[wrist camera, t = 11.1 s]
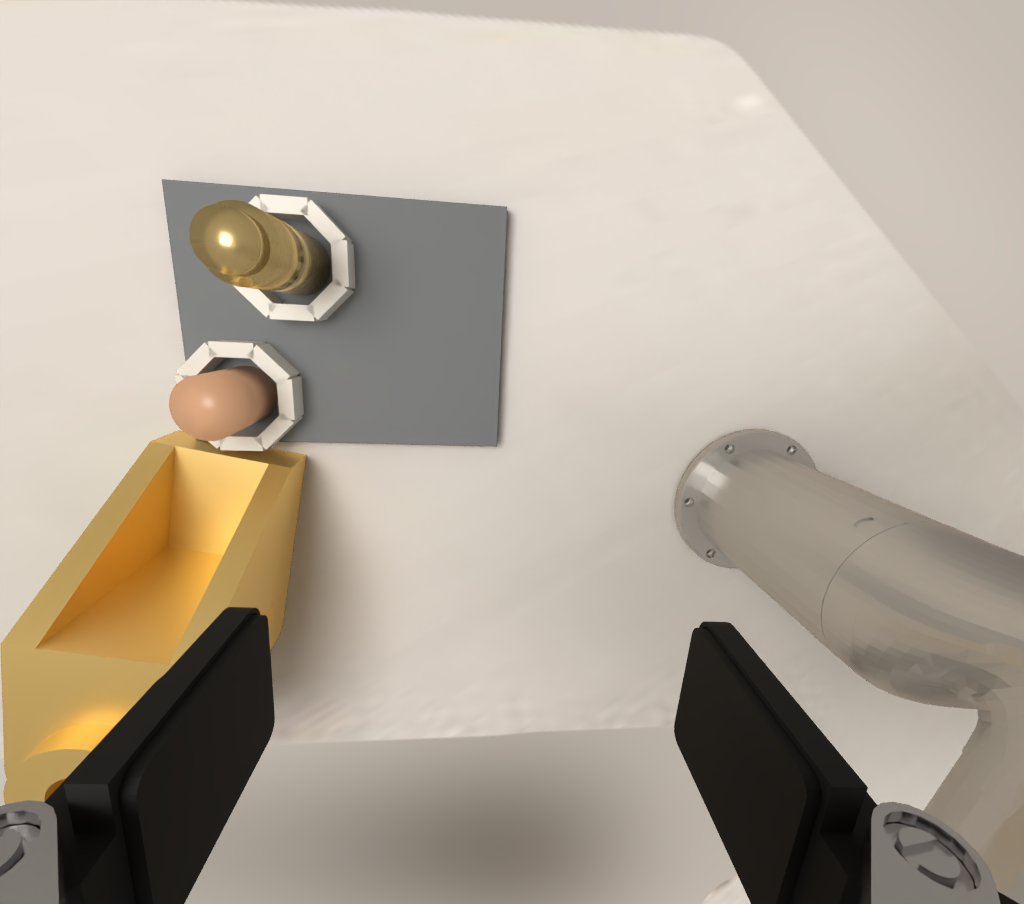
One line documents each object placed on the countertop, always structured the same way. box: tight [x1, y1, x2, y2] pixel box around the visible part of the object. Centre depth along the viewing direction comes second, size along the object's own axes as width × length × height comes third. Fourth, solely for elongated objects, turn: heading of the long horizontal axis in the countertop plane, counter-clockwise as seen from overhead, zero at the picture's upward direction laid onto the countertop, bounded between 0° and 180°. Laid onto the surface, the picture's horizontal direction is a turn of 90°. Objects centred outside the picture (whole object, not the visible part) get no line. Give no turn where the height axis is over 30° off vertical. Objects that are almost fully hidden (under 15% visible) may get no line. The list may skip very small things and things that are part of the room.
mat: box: [162, 179, 507, 447], centre depth 34 cm, size 22×17×1 cm
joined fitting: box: [169, 340, 304, 451], centre depth 31 cm, size 7×7×6 cm
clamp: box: [1, 431, 306, 805], centre depth 31 cm, size 20×9×16 cm, turn 166°
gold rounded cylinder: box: [189, 200, 330, 295], centre depth 27 cm, size 4×4×10 cm
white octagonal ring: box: [233, 194, 355, 321], centre depth 31 cm, size 7×7×2 cm
